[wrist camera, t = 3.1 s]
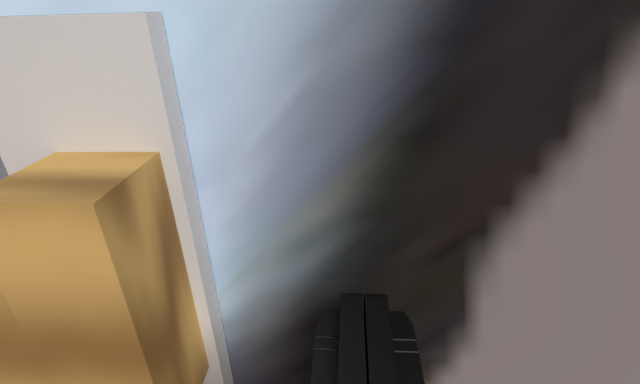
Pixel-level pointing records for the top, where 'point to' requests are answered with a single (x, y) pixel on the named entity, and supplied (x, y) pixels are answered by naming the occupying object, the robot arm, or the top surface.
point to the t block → (94, 275)
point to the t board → (107, 120)
